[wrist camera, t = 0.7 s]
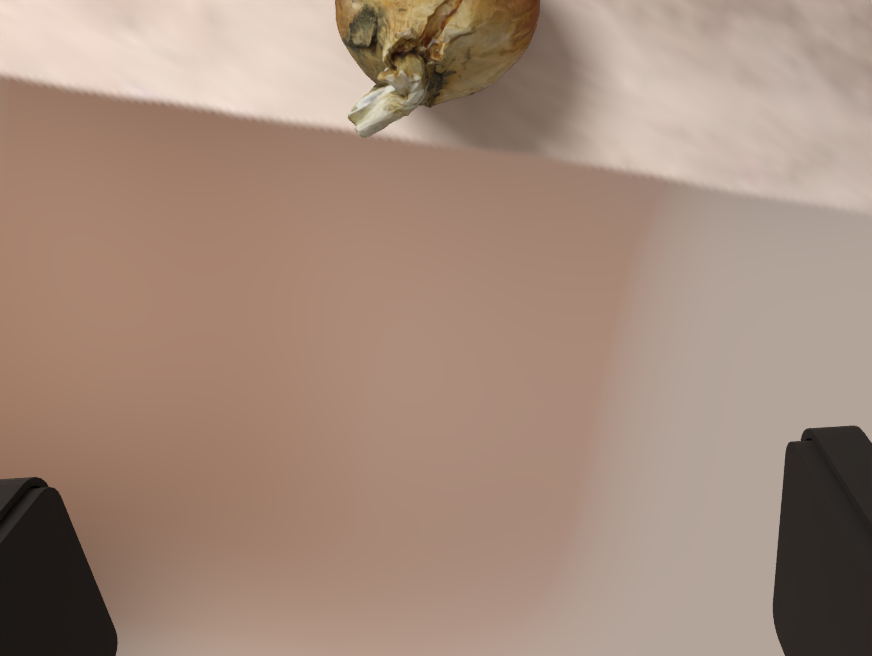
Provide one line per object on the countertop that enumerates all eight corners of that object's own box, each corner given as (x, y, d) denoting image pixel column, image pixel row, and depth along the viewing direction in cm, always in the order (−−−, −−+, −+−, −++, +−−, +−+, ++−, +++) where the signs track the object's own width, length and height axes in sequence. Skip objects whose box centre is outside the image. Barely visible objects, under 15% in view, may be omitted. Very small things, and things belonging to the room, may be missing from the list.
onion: (544, 82, 35) (556, 120, 28) (366, 108, 36) (334, 151, 29) (526, -111, 32) (534, -124, 25) (331, -77, 33) (286, -80, 26)
